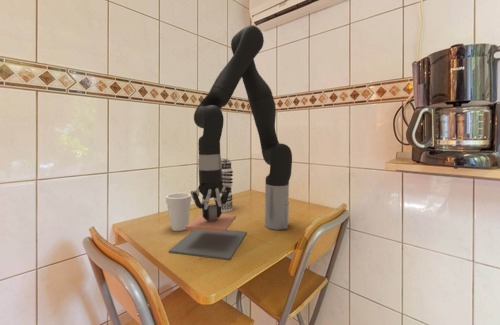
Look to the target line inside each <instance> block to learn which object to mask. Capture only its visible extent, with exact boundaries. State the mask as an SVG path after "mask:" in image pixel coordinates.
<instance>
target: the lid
mask: <svg viewBox="0 0 500 325" xmlns="http://www.w3.org/2000/svg"><path fill="white" fill-rule="evenodd" d="M207 209H208V215H209V220H205V219H204V218H203V213H202V212H201V214H199V215H198V216H197V217H195V218H194V219H193V220H192V221H190V222H189V223H188V225H186V226H185V227H186V229H185V230H189V231H191V230H192V231H193V230H202V231H215V232H225V231H226V230H228V228H229V227H230V226H231V225H232V224H233V222H234V221H235V220H236V219H237V215H236V214H225V213H224V214H223V213H221V215H220V217H219V218H218V216H217V205H216V204H213V203H211V204H208V208H207Z"/></svg>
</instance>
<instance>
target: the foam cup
mask: <svg viewBox="0 0 500 325" xmlns="http://www.w3.org/2000/svg"><path fill="white" fill-rule="evenodd" d="M191 202H192V195H191V193H187V192H176V193H175V192H174V193H169V194H167V195H166V196H165V203H166V205H167V210H168V211H167V212H168V216H169V217H168V218H169V222H170V228H171V230H172V231H174V232H179V231H185V230H187V229H186V227H185V226H186V225H188V224H189V223H190V222H189V221H190V213H191Z"/></svg>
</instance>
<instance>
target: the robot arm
mask: <svg viewBox="0 0 500 325" xmlns="http://www.w3.org/2000/svg"><path fill="white" fill-rule="evenodd" d="M264 43H265V40H264V34H263V33H262V30H261V29H260V28H259V27H258V26H256V25H253V24H250V25H247V26H244V27H243V28H241V29H240V30H239V31H238V32H237V33H236V34H235V35H233V37H232V38H231V40H230V48H231V51H232V57H231V58H230V60H229V61H228V62H227V63H226V65H225V66H224V67H223V68H222V70H221V71H220V73H219V74H218V75H217V77H216V79H215V81H214V82H213V84H212V86H211V88H210V90H209V91H208V94H206V96H205V97H204V98H203V99H202V100H201V102H200V103H199V105H198V106H197V107H196V109H195V110H194V113H193V121H194V124H195V125H196V126H197V127H199V128H200V129H202V130H203V132H202V135H201V136H200V137H199V138H198V144H197V146H198V163H197V164H198V165H197V166H198V184H199V185H198V188H197V189H195V190H191V191H190V194H191V199H193V202H194V204H195V206H196V207H197V208H198V209H201V214H202V213H203V218H204V219H205V220H209V215H208V209H207V208H208V205H209V204H210V201H211V199H212V198H213V199H214V203H215V205H217V216H218V218H219V217H220V215H221V214H222V212H221V206H222V205H223V204H226V202H227V198H228V195H229V192H230V187H227V186H223V184H222V163H221V159H222V157H221V137H222V133H223V128H224V114H223V111H222V108H224V107H225V106H227V105H228V104H229V102H230V100H231V99H232V96H233V94H234V92H235V90H236V88H237V86H238V85H239V83H240V80H241V79H242V82H243V85H244V88H245V92H246V95H247V100H248V103H249V108H250V110H251V114H252V116H253V120H254V124H255V127H256V130H257V134H258V137H259V143H260V148H261V155H262V157H263V160H264V162H265V163H266V164H267V165H268V166H269V173H268V175H267V176H265V186H264V188H265V194H264V196H265V197H264V198H265V200H264V201H265V206H264V208H265V209H264V212H265V213H264V225H265V227H266V228H267V229H270V230H275V231H276V230H277V231H278V230H279V231H280V230H288V228H289V224H290V223H289V218H290V201H289V198H290V197H289V196H290V193H289V192H290V191H289V190H290V189H289V188H290V179H291V176H292V165H293V153H292V150H291V148H290V147H289V146H288V145H287V144H285V143H280V142H279V140H278V135H277V132H276V116H277V115H276V113H277V112H276V110H277V109H276V104H275V103H276V102H275V99H274V95H273V92H272V90H271V87H270V86H269V84H268V83H267V82H266V81H265V80H264V78H263V77H262V76H261V75H260V73H259V71H258V68H257V67H256V63H255V58H256V56H257V55H258V54H259V52H260V51H261V50H262V49H263V46H264ZM221 190H222V191H223V193H222V196H221V198H220V192H221ZM200 194H201V195H202V198H201V200H202V201H201V200H200V198H199V197H200Z"/></svg>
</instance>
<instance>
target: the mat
mask: <svg viewBox="0 0 500 325" xmlns="http://www.w3.org/2000/svg"><path fill="white" fill-rule="evenodd" d="M246 235H247V231H244V230H234V229H232V230H231V229H227V230H226V231H225V232H215V231H202V230H192V231H191V232H189V233H188V234H187V235H185V237H183V238H182V239H181V240H179V241H178V242H177V243H176V244H174V245H173V246H172V247H171V248H169V249H168V253H171V254H179V255H186V256H193V257H194V256H195V257H200V258H201V257H203V258H209V259H210V258H211V259H217V260H218V259H219V260H227V261H230V260H232V257H233V256H234V254H235V253H236V251H237V250H238V248H239V247H240V245H241V243H242V242H243V239H244V238H245V237H246Z"/></svg>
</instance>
